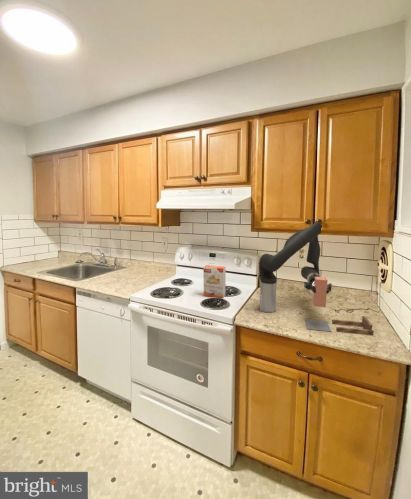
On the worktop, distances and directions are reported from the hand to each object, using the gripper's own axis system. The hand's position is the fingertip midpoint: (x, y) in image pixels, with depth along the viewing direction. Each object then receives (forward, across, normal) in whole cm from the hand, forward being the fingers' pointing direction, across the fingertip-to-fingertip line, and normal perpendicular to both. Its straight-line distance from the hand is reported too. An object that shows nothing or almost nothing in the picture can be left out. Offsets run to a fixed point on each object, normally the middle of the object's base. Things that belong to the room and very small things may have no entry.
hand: (321, 291), depth 126 cm
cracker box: (-32, -60, +20) cm, 71 cm away
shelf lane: (-2, +16, +20) cm, 25 cm away
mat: (-2, 0, +19) cm, 20 cm away
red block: (-3, 0, +8) cm, 9 cm away
